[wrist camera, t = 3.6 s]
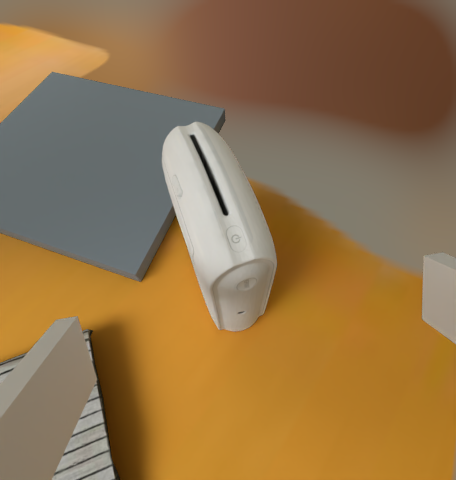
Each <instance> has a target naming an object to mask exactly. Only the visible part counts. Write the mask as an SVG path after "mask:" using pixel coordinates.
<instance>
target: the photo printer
mask: <svg viewBox="0 0 456 480" xmlns="http://www.w3.org/2000/svg"><path fill="white" fill-rule="evenodd" d="M162 167H163V171H164V175H165V180H166V184H167V187H168V190H169V194H170V197H171V200H172V203H173V207H174V210H175V213H176V216H177V219H178V222H179V225H180V228H181V231H182V233H183V236H184V239H185V242H186V245H187V248H188V251H189V254H190V258H191V261H192V264H193V267H194V270H195V273H196V276H197V279H198V282H199V285H200V288H201V291H202V294H203V297H204V299H205V302H206V305H207V307H208V310H209V312H210V315H211V317H212V319H213V321H214V322H215V324H216V326H217V327H218V329H219V330H222V329H226V330H229V331H242V330H245V329H247V328H249V327H250V326H252V325H253V324H254V323H255V321H256V320H257V318H258V317H259V316H261V315H263V314H264V312H265V309H266V305H267V302H268V298H269V295H270V291H271V287H272V284H273V280H274V276H275V272H276V269H277V258H276V252H275V247H274V243H273V239H272V236H271V233H270V231H269V228H268V225H267V223H266V220H265V217H264V215H263V212H262V210H261V207H260V205H259V203H258V201H257V198H256V196H255V194H254V192H253V190H252V187H251V185H250V183H249V181H248V179H247V177H246V175H245V173H244V171H243V170H242V168H241V166H240V164H239V162H238V160H237V159H236V157H235V155H234V154H233V152H232V151H231V149H230V147H229V146H228V145H227V143H226V142H225V140H224V139H223V138H222V137H221V136H220V135H219V134H218V133H217V132H216V131H215V130H214V129H212V128H211V127H210V126H208V125H206V124H204V123H201V122H194V123H192V124H190V125H187V126H177V127H175V128H174V129H173V130H172V131H171V132H170V133H169V134H168V136H167V137H166V139H165V141H164V144H163V150H162Z"/></svg>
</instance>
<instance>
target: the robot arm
mask: <svg viewBox="0 0 456 480" xmlns="http://www.w3.org/2000/svg"><path fill="white" fill-rule="evenodd" d="M423 263H424V264H423V297H422V320H424V321H425V322H426V323H428V324H429V325H430V326H432V327H433V328H434V329H436V330H437V331H439V332H440V333H441V334H443V335H444V336H445V337H447V338H448V339H449V340H451V341H452V342H454V343H455V344H456V258H455V257H453V256H451V255H448V254H446V253H443V252H442V253H437V254H430V255H425V256H424V261H423ZM96 381H97V377H96V373H95V370H94V367H93V364H92V361H91V358H90V354H89V351H88V348H87V345H86V342H85V339H84V335H83V332H82V329H81V326H80V323H79V319H78V316H76V317H70V318H64V319H59V320H56V321H55V322H54V323H53V324H52V325H51V326H50V328H49V329H48V330H47V331H46V332H45V333H44V334H43V336H42V337H41V338H40V339H39V340H38V341H37V343H36V344H35V345H34V346H33V347H32V348H31V349H30V351H29V352H28V353H27V354H26V355H25V356H24V358H23V359H22V360H21V361H20V362H19V363H18V364H17V366H16V367H15V368H14V369H13V370H12V371H11V372H10V374H9V375H8V376H7V377H6V378H5V379H4V381H3V382H2V383H1V384H0V480H52V478H53V476H54V473H55V471H56V469H57V467H58V465H59V462H60V460H61V458H62V456H63V454H64V451H65V449H66V447H67V445H68V443H69V440H70V438H71V436H72V434H73V432H74V429H75V427H76V425H77V423H78V421H79V418H80V416H81V414H82V412H83V410H84V407H85V405H86V403H87V401H88V399H89V396H90V394H91V392H92V390H93V388H94V385H95V383H96Z"/></svg>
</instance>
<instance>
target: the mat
mask: <svg viewBox="0 0 456 480" xmlns="http://www.w3.org/2000/svg"><path fill="white" fill-rule="evenodd" d="M82 332H83V335H84V339H85V342H86V345H87V348H88V351H89V354H90V358H91V361H92V364H93V367H94V370H95V373H96V377H97V381H96V383H95V385H94V388H93V390H92V392H91V394H90V396H89V399H88V401H87V403H86V405H85V407H84V410H83V412H82V414H81V416H80V418H79V421H78V423H77V425H76V427H75V429H74V432H73V434H72V436H71V438H70V440H69V443H68V445H67V447H66V449H65V451H64V454H63V456H62V458H61V460H60V462H59V465H58V467H57V469H56V471H55V473H54V476H53V478H52V480H120V477H119V475H118V472H117V470H116V468H115V465H114V463H113V460H112V456H111V449H110V442H109V436H108V429H107V422H106V415H105V408H104V401H103V396H102V391H101V387H100V383H99V378H98V374H97V370H96V365H95V360H94V354H93V348H92V343H91V337H90V336H91V334H92V332H93V330H89V329H86V330H84V331H82ZM27 353H28V352H27ZM27 353H25V354H22V355H19V356H17V357H14V358H12V359H9V360H6V361H4V362H1V363H0V384H1V383H2V382H3V381H4V379H5V378H6V377H7V376H8V375H9V374H10V372H11V371H12V370H13V369H14V368H15V367H16V366H17V364H18V363H19V362H20V361H21V360H22V359H23V358H24V356H25V355H26V354H27Z"/></svg>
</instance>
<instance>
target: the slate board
mask: <svg viewBox="0 0 456 480" xmlns="http://www.w3.org/2000/svg"><path fill="white" fill-rule="evenodd" d="M194 122H201V123H204V124H206V125H208V126H210V127H211V128H212V129H214V130H215V131H216V132H217V133H219V131H220V130H221V127H222V126H223V124H224V122H225V109H223V108H218V107H214V106H209V105H205V104H200V103H195V102H191V101H186V100H181V99H176V98H172V97H167V96H163V95H158V94H153V93H148V92H143V91H139V90H134V89H129V88H125V87H120V86H116V85H111V84H106V83H102V82H97V81H92V80H87V79H83V78H78V77H74V76H69V75H64V74H60V73H55V72H52V73H51V74H50V75H49V76H48V77H47V78H46V79H45V80H44V81H43V82H42V83H41V84H39V85H38V86H37V87H36V88H35V89H34V90H33V91H32V92H31V93H30V94H29V95H28V96H27V97H26V98H25V99H24V100H23V101H22V102H21V103H20V104H19V105H18V106H17V107H16V108H15V109H14V110H13V111H12V112H11V113H10V114H9V115H8V116H7V117H6V118H5V119H4V120H3V121H2V122H1V123H0V233H2V234H5V235H8V236H10V237H13V238H16V239H19V240H22V241H25V242H28V243H31V244H33V245H36V246H39V247H42V248H45V249H48V250H51V251H53V252H56V253H59V254H62V255H65V256H68V257H71V258H74V259H76V260H79V261H82V262H85V263H88V264H91V265H94V266H96V267H99V268H102V269H105V270H108V271H111V272H114V273H117V274H119V275H122V276H125V277H128V278H131V279H134V280H137V281H139V282H141V281H142V279H143V277H144V275H145V273H146V271H147V269H148V267H149V265H150V263H151V261H152V260H153V258H154V256H155V254H156V252H157V250H158V248H159V246H160V244H161V242H162V240H163V239H164V237H165V235H166V233H167V231H168V229H169V227H170V225H171V223H172V221H173V219H174V217H175V216H176V213H175V210H174V207H173V203H172V200H171V197H170V194H169V190H168V187H167V184H166V180H165V175H164V171H163V167H162V150H163V144H164V141H165V139H166V137H167V136H168V134H169V133H170V132H171V131H172V130H173V129H174V128H175V127H177V126H187V125H190V124H192V123H194Z"/></svg>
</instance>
